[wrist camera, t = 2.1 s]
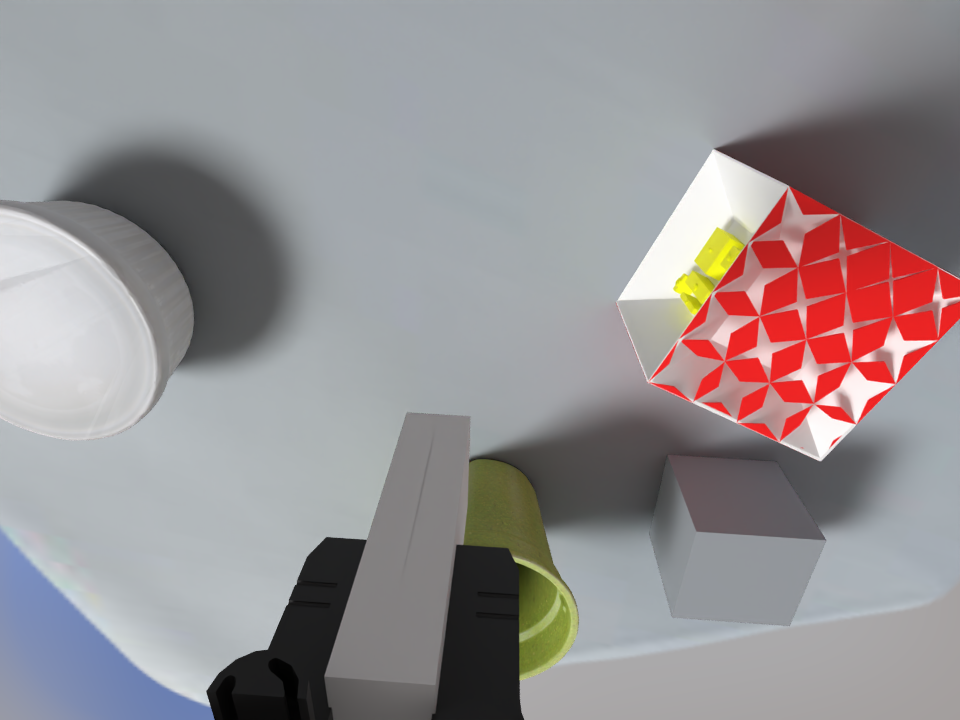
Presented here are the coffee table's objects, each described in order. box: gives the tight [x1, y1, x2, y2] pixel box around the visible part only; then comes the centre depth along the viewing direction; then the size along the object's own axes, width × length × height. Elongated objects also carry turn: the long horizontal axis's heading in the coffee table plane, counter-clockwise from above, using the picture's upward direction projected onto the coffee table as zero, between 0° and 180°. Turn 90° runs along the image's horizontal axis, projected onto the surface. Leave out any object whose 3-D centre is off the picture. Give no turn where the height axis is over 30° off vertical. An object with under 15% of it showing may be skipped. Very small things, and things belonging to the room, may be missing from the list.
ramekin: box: [0, 200, 194, 441], centre depth 27 cm, size 11×11×5 cm
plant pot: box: [463, 459, 579, 680], centre depth 31 cm, size 9×9×9 cm
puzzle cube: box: [616, 149, 960, 462], centre depth 24 cm, size 8×8×8 cm
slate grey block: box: [649, 455, 826, 626], centre depth 31 cm, size 6×6×6 cm
